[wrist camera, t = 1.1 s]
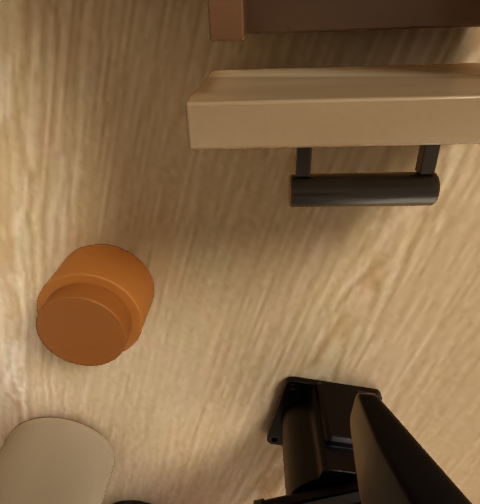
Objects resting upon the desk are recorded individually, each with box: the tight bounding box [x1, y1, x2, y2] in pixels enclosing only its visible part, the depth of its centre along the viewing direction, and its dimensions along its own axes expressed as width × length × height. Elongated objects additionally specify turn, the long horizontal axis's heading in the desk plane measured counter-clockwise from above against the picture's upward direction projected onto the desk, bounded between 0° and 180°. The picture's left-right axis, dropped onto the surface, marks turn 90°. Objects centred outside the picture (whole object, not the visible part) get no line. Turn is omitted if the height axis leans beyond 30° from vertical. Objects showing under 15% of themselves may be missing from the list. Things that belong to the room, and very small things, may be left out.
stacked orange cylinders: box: [36, 245, 154, 366], centre depth 21 cm, size 5×5×4 cm
